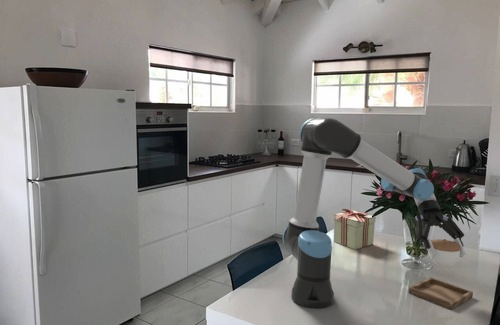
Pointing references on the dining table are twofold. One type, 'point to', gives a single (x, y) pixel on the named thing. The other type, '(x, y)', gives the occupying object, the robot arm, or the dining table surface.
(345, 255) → the dining table surface
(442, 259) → the lidded jar
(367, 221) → the gift box
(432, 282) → the walnut tray
